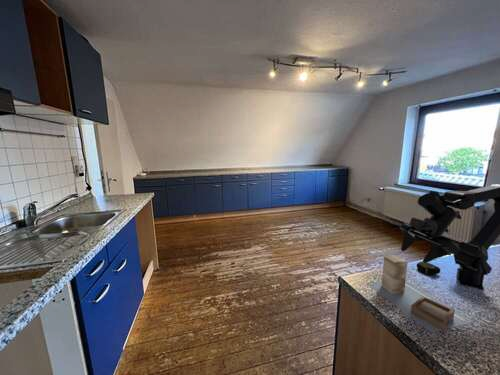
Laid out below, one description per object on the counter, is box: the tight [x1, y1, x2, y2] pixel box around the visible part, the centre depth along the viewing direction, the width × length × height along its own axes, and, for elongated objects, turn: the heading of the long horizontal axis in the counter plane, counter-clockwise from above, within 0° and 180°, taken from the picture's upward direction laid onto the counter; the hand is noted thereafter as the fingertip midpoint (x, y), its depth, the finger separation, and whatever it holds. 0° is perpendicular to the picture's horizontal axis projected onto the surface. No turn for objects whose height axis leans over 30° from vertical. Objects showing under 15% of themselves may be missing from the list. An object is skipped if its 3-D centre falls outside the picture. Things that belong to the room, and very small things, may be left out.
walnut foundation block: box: [411, 296, 455, 331], centre depth 68 cm, size 8×8×3 cm
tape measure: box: [416, 260, 441, 276], centre depth 94 cm, size 7×7×4 cm
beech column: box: [381, 254, 409, 294], centre depth 81 cm, size 5×5×12 cm
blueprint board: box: [367, 280, 475, 334], centre depth 75 cm, size 16×24×1 cm, turn 14°
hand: (412, 256), depth 81 cm, fingers open, 9 cm apart
